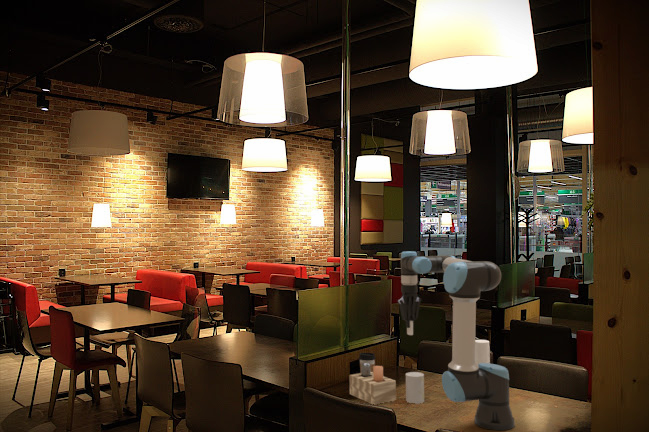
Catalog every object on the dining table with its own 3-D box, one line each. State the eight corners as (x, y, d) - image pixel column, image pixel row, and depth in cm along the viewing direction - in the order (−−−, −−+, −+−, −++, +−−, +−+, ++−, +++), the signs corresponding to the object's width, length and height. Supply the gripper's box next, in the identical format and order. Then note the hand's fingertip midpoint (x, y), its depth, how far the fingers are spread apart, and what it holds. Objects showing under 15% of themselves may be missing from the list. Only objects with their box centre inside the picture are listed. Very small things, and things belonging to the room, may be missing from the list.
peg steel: (372, 382, 260) (372, 362, 260) (364, 383, 257) (364, 364, 258) (367, 380, 263) (366, 361, 264) (359, 381, 261) (359, 362, 262)
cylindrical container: (478, 392, 262) (477, 339, 263) (493, 394, 258) (491, 340, 259) (472, 395, 257) (470, 341, 258) (486, 398, 252) (485, 343, 253)
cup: (424, 404, 245) (423, 377, 245) (405, 403, 247) (405, 376, 247) (424, 398, 253) (424, 372, 253) (406, 398, 254) (406, 371, 255)
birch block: (395, 400, 250) (395, 380, 251) (374, 405, 244) (374, 384, 245) (370, 390, 268) (370, 371, 268) (349, 394, 262) (349, 374, 262)
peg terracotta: (385, 387, 251) (385, 367, 251) (377, 388, 249) (377, 368, 249) (379, 384, 255) (379, 365, 255) (371, 386, 253) (371, 366, 253)
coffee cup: (356, 382, 282) (355, 352, 283) (370, 380, 286) (370, 350, 286) (364, 386, 275) (363, 355, 275) (379, 384, 278) (378, 354, 279)
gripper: (415, 282, 267) (415, 331, 266) (393, 284, 260) (394, 334, 260) (425, 284, 260) (426, 334, 260) (403, 285, 254) (404, 337, 253)
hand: (410, 334), depth 260 cm, fingers closed
